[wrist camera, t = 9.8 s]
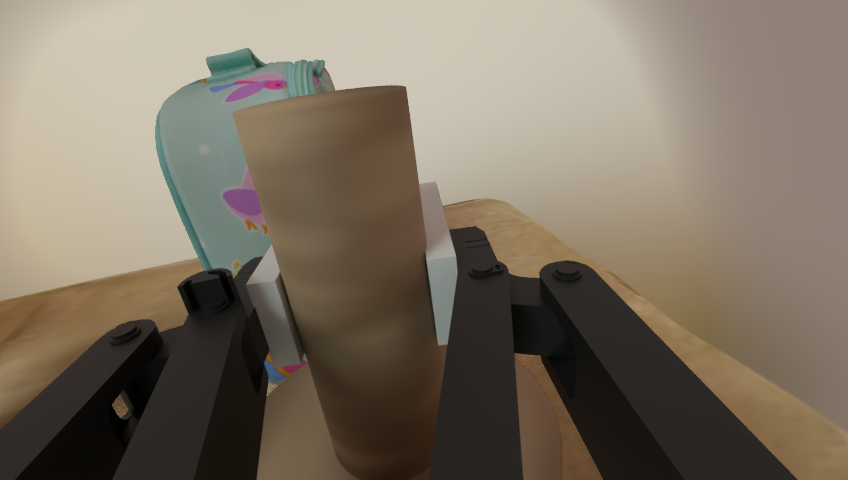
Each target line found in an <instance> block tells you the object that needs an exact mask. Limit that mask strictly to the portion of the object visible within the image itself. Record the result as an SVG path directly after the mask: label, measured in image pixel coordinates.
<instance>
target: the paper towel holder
mask: <svg viewBox="0 0 848 480" xmlns="http://www.w3.org/2000/svg"><path fill="white" fill-rule="evenodd" d="M232 115H233V118H234V122H235V125H236V128H237V131H238V135H239V138H240V141H241V145H242V148H243V151H244V154H245V158H246V161H247V164H248V168H249V171H250V174H251V177H252V181H253V184H254V187H255V191H256V194H257V197H258V200H259V204H260V207H261V210H262V214H263V217H264V220H265V223H266V227H267V230H268V233H269V237H270V240H271V243H272V246H273V250H274V253H275V256H276V260H277V263H278V266H279V270H280V273H281V276H282V279H283V283H284V286H285V289H286V293H287V296H288V299H289V302H290V306H291V309H292V312H293V316H294V319H295V322H296V325H297V329H298V332H299V335H300V339H301V342H302V345H303V348H304V352H305V355H306V358H307V362H308V363H306V364H305V365H303V366H302V367H300V368H299V369H298V370H296V371H295V372H294V373H292V374H291V375H290V376H288V377H287V378H286V379H285V380H284V381H283V382H282V383H281V384H279V385H278V386H277V387H276V388H275V389H274V390H273V391H272V392H271V393H270V394H269V395H268V396H267V398H266V404H265V413H264V421H263V430H262V438H261V447H260V456H259V464H258V473H257V480H429V473H430V465H431V458H432V451H433V444H434V437H435V430H436V423H437V416H438V409H439V402H440V394H441V387H442V380H443V373H444V366H445V359H446V352H447V345H448V344H446V345H439V346H438V340H437V333H436V326H435V318H434V311H433V304H432V296H431V289H430V282H429V275H428V267H427V260H426V252H425V251H426V247H427V240H426V232H425V225H424V218H423V210H422V203H421V195H420V188H419V181H418V173H417V165H416V158H415V151H414V143H413V136H412V128H411V121H410V113H409V106H408V98H407V91H406V87H405V86H375V87H363V88H354V89H345V90H338V91H330V92H323V93H317V94H310V95H304V96H298V97H293V98H287V99H282V100H277V101H272V102H267V103H263V104H259V105H254V106H251V107H247V108H244V109H240V110H238V111H235V112H234V113H233V114H232ZM515 370H516V384H517V397H518V411H519V425H520V439H521V453H522V466H523V480H562V442H561V436H560V430H559V424H558V421H557V418H556V415H555V412H554V409H553V406H552V405H551V403H550V401H549V399H548V397H547V395H546V393H545V391H544V390H543V388H542V387H541V385H540V384H539V383H538V381H537V380H536V378H535V377H534V376H533V375H532V374H531V373H530V372H529V371H528V370H527V369H526V368H525V367H524V366H523V365H522V364H521V363H520V362H518V361H517V360H516V359H515Z"/></svg>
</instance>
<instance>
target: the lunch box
mask: <svg viewBox="0 0 848 480" xmlns="http://www.w3.org/2000/svg"><path fill="white" fill-rule="evenodd" d="M206 62H207V65H208V68H209V70H210V71H211V75H212V77H209V78H205V79H201V80H198V81H195V82H193V83H191V84H189V85H186V86H184V87H182V88H181V89H180V90H178V91H176V92H175V93H174V94H172V95H171V96H170V97H169V98H168V99H167V100H166V101H165V102H164V103H163V105H162V107H161V109H160V111H159V113H158V115H157V120H156V126H155V138H156V149H157V153H158V157H159V162H160V166H161V169H162V171H163V174H164V177H165V180H166V182H167V185H168V187H169V190H170V192H171V195H172V198H173V200H174V203H175V205H176V208H177V210H178V212H179V215H180V217H181V219H182V222H183V224H184V226H185V228H186V231H187V233H188V235H189V238H190V240H191V242H192V244H193V247H194V249H195V251H196V253H197V255H198V257H199V260H200V262H201V264H202V266H203V268H204V270H205V271H206V270H210V269H217V268H224V269H228V270H230V271H231V272H232V275H233V278H234V277H235V276H236V275H237V273H238V272H239V270H240V269H241V267H242V266H243V265H244V264H246V263H247V262H249V261H250V260H251V259H253V258H254V257H262V256H264V255H265V254H266V252H267V251H268V249H269V248H270V246H271V245H272V243H271V240H270V237H269V233H268V230H267V227H266V223H265V220H264V217H263V214H262V210H261V207H260V204H259V200H258V197H257V194H256V191H255V187H254V184H253V181H252V177H251V174H250V171H249V168H248V164H247V161H246V158H245V154H244V151H243V148H242V145H241V141H240V138H239V135H238V131H237V128H236V125H235V122H234V118H233V115H232V114H233V113H234V112H235V111H238V110H240V109H244V108H247V107H251V106H254V105H259V104H263V103H267V102H272V101H277V100H282V99H287V98H293V97H298V96H304V95H310V94H317V93H323V92H330V91H335V88H334V85H333V82H332V80H331V78H330V75H329V73H328V72H327V70H326V69H325V68H324V65H325V61H324V60H321V61H319V60H315V61H313V62H311V61H309V62H307V61H306V60H300V61H297V62H295V63H294V64H293V63H292V62H276V63H269V64H265V63H263V62H261V61H260V60H259V59H258V58H257V57H255V55H254V54H253V52H252V51H251V50H250V49H249V48H245V49H241V50H238V51H235V52H232V53H227V54H222V55H216V56H211V57H207V58H206ZM306 363H308V362H307V358H306V355H305V353H304V356H303V360H302V363H301V364H299V365H291V366H284V367H276V368H274V365H273V362H272V359H271V356H270V353H268V355H267V357H266V360H265V362H264V364H265V367H266V370H267V372H268V377H269V379H268V381H269V382H271V383H274V384H277V385H278V384H281V383H282V382H283V381H284V380H285V379H286V378H287V377H288V376H290V375H291V374H292V373H294V372H295V371H296V370H298V369H299V368H300V367H302V366H303V365H305V364H306Z"/></svg>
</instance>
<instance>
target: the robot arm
mask: <svg viewBox="0 0 848 480" xmlns="http://www.w3.org/2000/svg"><path fill="white" fill-rule="evenodd" d="M419 188H420V195H421V203H422V210H423V218H424V225H425V232H426V240H427V247H426V251H425V252H426V260H427V267H428V275H429V282H430V289H431V296H432V304H433V311H434V318H435V326H436V333H437V340H438V346H439V345H446V344H448V345H447V352H446V359H445V366H444V373H443V380H442V387H441V394H440V402H439V409H438V416H437V423H436V430H435V437H434V444H433V451H432V458H431V465H430V473H429V480H523V466H522V453H521V439H520V425H519V411H518V397H517V384H516V370H515V356H514V353H520V354H530V355H541V360H542V363H543V364H544V366H545V368H546V370H547V372H548V374H549V376H550V378H551V380H552V382H553V384H554V386H555V387H556V389H557V391H558V393H559V395H560V397H561V399H562V401H563V403H564V405H565V407H566V409H567V410H568V412H569V414H570V416H571V418H572V420H573V422H574V424H575V426H576V428H577V430H578V432H579V433H580V435H581V437H582V439H583V441H584V443H585V445H586V447H587V449H588V451H589V453H590V455H591V457H592V458H593V460H594V462H595V464H596V466H597V468H598V470H599V472H600V474H601V476H602V478H603V480H797V479H796V478H795V477H794V476H793V475H792V474H791V473H790V471H789V470H788V469H787V468H786V467H785V466H784V465H783V464H782V463H781V462H780V461H779V460H778V459H777V458H776V457H775V456H774V455H773V454H772V453H771V452H770V451H769V450H768V449H767V448H766V447H765V446H764V445H763V444H762V443H761V442H760V441H759V440H758V439H757V438H756V437H755V436H754V434H753V433H752V432H751V431H750V430H749V429H748V428H747V427H746V426H745V425H744V424H743V423H742V422H741V421H740V420H739V419H738V418H737V417H736V416H735V415H734V414H733V413H732V412H731V411H730V410H729V409H728V408H727V407H726V406H725V405H724V404H723V403H722V402H721V401H720V400H719V398H718V397H717V396H716V395H715V394H714V393H713V392H712V391H711V390H710V389H709V388H708V387H707V386H706V385H705V384H704V383H703V382H702V381H701V380H700V379H699V378H698V377H697V376H696V375H695V374H694V373H693V372H692V371H691V370H690V369H689V368H688V367H687V366H686V365H685V364H684V362H683V361H682V360H681V359H680V358H679V357H678V356H677V355H676V354H675V353H674V352H673V351H672V350H671V349H670V348H669V347H668V346H667V345H666V344H665V343H664V342H663V341H662V340H661V339H660V338H659V337H658V336H657V335H656V334H655V333H654V332H653V331H652V330H651V329H650V328H649V326H648V325H647V324H646V323H645V322H644V321H643V320H642V319H641V318H640V317H639V316H638V315H637V314H636V313H635V312H634V311H633V310H632V309H631V308H630V307H629V306H628V305H627V304H626V303H625V302H624V301H623V300H622V299H621V298H620V297H619V296H618V295H617V294H616V293H615V292H614V291H613V289H612V288H611V287H610V286H609V285H608V284H607V283H606V282H605V281H604V280H603V279H602V278H601V277H600V276H599V275H598V274H597V273H596V272H595V271H594V270H593V269H592V268H590V267H589V266H587V265H585V264H581V263H578V262H575V261H559V262H554V263H550V264H547V265H546V266H544V267H543V268H542V269H541V271H540V278H527V277H519V276H515V275H511V274H509V273H508V269H507V266H506V265H504V264H503V263H501V262H499V261H497V258H496V256H495V254H494V252H493V250H492V248H491V246H490V243H489V241H488V240H487V237H486V234H485V232H484V231H482V230H481V229H479V228H477V227H476V226H474V227H467V228H459V229H452V230H449V229H448V225H447V221H446V218H445V214H444V210H443V206H442V203H441V199H440V195H439V192H438V188H437V184H436V182H431V183H424V184H419ZM177 288H178V290H179V292H180V295H181V297H182V299H183V302H184V304H185V306H186V309H187V311H188V313H189V315H188V317H187V319H186V321H185V323H184V325H182V326H179V327H176V328H173V329H169V330H166V331H163V332H160V333H159V330H158V328H157V326H156V324H155V322H154V321H151V320H137V321H129V322H126V324H124V323H123V324H121V325H119V326H117V327H116V328H115V329H113V330H111V331H109V332H108V333H106V334H105V335H104V336H102V337H101V338H100V339H99V340H97V341H96V342H95V343H94V344H93V345H92V346H91V347H90V348H89V349H88V350H87V351H86V352H84V353H83V354H82V355H81V356H80V357H79V358H78V359H77V360H76V361H75V362H74V363H73V364H71V365H70V366H69V367H68V368H67V369H66V370H65V371H64V372H63V373H62V374H61V375H60V376H58V377H57V378H56V379H55V380H54V381H53V382H52V383H51V384H50V385H49V386H48V387H47V388H45V389H44V390H43V391H42V392H41V393H40V394H39V395H38V396H37V397H36V398H35V399H34V400H32V401H31V402H30V403H29V404H28V405H27V406H26V407H25V408H24V409H23V410H22V411H21V412H19V413H18V414H17V415H16V416H15V417H14V418H13V419H12V420H11V421H10V422H9V423H8V424H6V425H5V426H4V427H3V428H2V429H1V430H0V480H257V473H258V464H259V456H260V447H261V438H262V430H263V421H264V413H265V404H266V396H267V387H268V379H269V377H268V372H267V370H266V367H265V364H264V362H265V360H266V357H267V355H268V353H270V356H271V359H272V362H273V365H274V368H276V367H284V366H291V365H299V364H301V363H302V360H303V356H304V353H305V352H304V348H303V345H302V342H301V339H300V335H299V332H298V329H297V325H296V322H295V319H294V316H293V312H292V309H291V306H290V302H289V299H288V296H287V293H286V289H285V286H284V283H283V279H282V276H281V273H280V270H279V266H278V263H277V260H276V256H275V253H274V250H273V246H272V245H271V246H270V248H269V249H268V251H267V252H266V254H265V255H264V256H262V257H254V258H253V259H251V260H250V261H249V262H247V263H246V264H244V265H243V266H242V267H241V269H240V270H239V272H238V273H237V275H236V276H235V277H234V278H233V275H232V272H231V271H230V270H228V269H224V268H217V269H210V270H206V271H203V272H199V273H197V274H195V275H193V276H190V277H189V278H187V279H185V280H184V281H182V282H181V283H180V284H179V285H178V287H177ZM119 395H121V397H122V399H123V401H124V402H125V404H126V406H127V408H128V412H127V413H126V414H125V415H124V416H123V417H122V418H120V417H119V416H118V415H117V414H116V412H115V410H114V408H113V407H112V404H113V402H114V400H115V399H116V398H117V397H118V396H119Z"/></svg>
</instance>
